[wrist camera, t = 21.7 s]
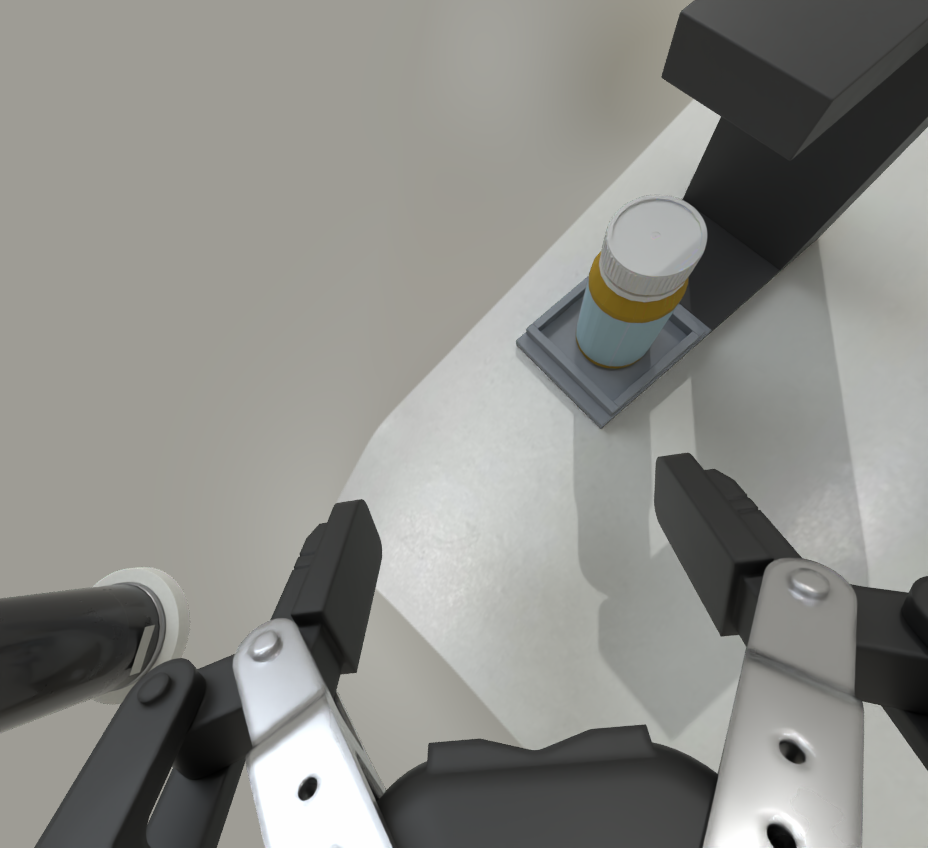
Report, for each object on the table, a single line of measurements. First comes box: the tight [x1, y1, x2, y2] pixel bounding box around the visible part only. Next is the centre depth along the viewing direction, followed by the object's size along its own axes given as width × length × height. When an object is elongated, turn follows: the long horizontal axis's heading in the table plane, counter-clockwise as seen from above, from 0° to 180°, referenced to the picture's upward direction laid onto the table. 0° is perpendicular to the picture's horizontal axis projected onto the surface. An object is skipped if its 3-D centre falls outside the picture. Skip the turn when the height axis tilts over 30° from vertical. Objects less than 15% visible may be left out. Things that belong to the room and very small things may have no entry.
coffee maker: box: [516, 0, 928, 428], centre depth 31 cm, size 29×12×26 cm, turn 130°
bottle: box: [576, 195, 707, 369], centre depth 35 cm, size 7×7×15 cm
